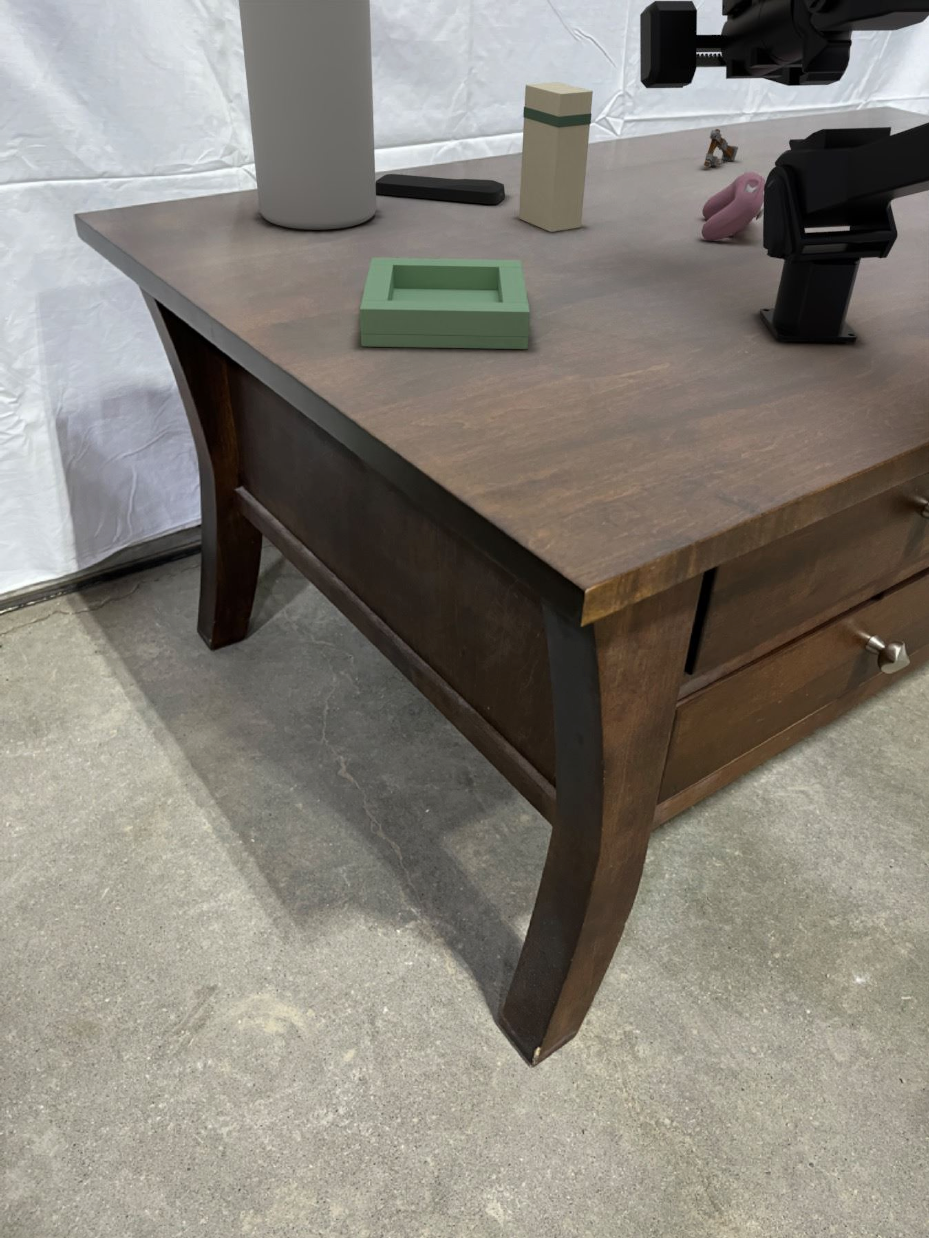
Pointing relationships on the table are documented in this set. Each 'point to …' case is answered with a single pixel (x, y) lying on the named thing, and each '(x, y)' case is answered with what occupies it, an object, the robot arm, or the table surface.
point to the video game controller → (733, 207)
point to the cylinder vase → (311, 110)
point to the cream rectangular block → (554, 155)
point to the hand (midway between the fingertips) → (701, 67)
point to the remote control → (441, 188)
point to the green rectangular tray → (445, 304)
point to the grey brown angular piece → (721, 143)
